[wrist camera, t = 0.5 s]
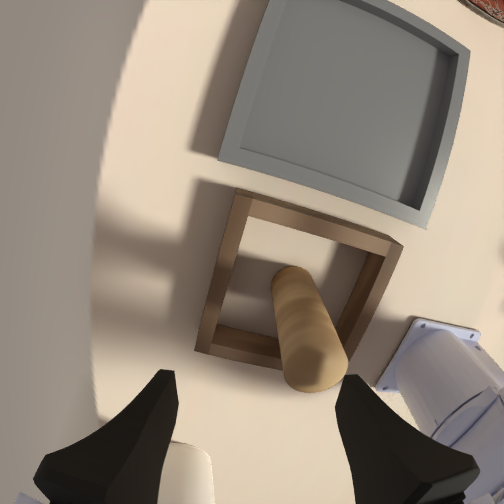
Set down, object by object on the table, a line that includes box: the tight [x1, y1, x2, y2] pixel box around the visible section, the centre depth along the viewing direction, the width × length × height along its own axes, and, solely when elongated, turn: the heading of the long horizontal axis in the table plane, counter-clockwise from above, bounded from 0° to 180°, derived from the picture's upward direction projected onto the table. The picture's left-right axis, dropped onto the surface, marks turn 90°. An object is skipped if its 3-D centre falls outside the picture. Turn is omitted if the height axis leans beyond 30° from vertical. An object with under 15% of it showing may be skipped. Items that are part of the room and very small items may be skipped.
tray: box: [218, 0, 470, 230], centre depth 16 cm, size 14×14×2 cm
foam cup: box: [157, 443, 215, 504], centre depth 23 cm, size 10×9×13 cm
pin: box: [271, 266, 348, 393], centre depth 18 cm, size 3×3×9 cm
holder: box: [194, 188, 404, 370], centre depth 21 cm, size 11×11×2 cm
